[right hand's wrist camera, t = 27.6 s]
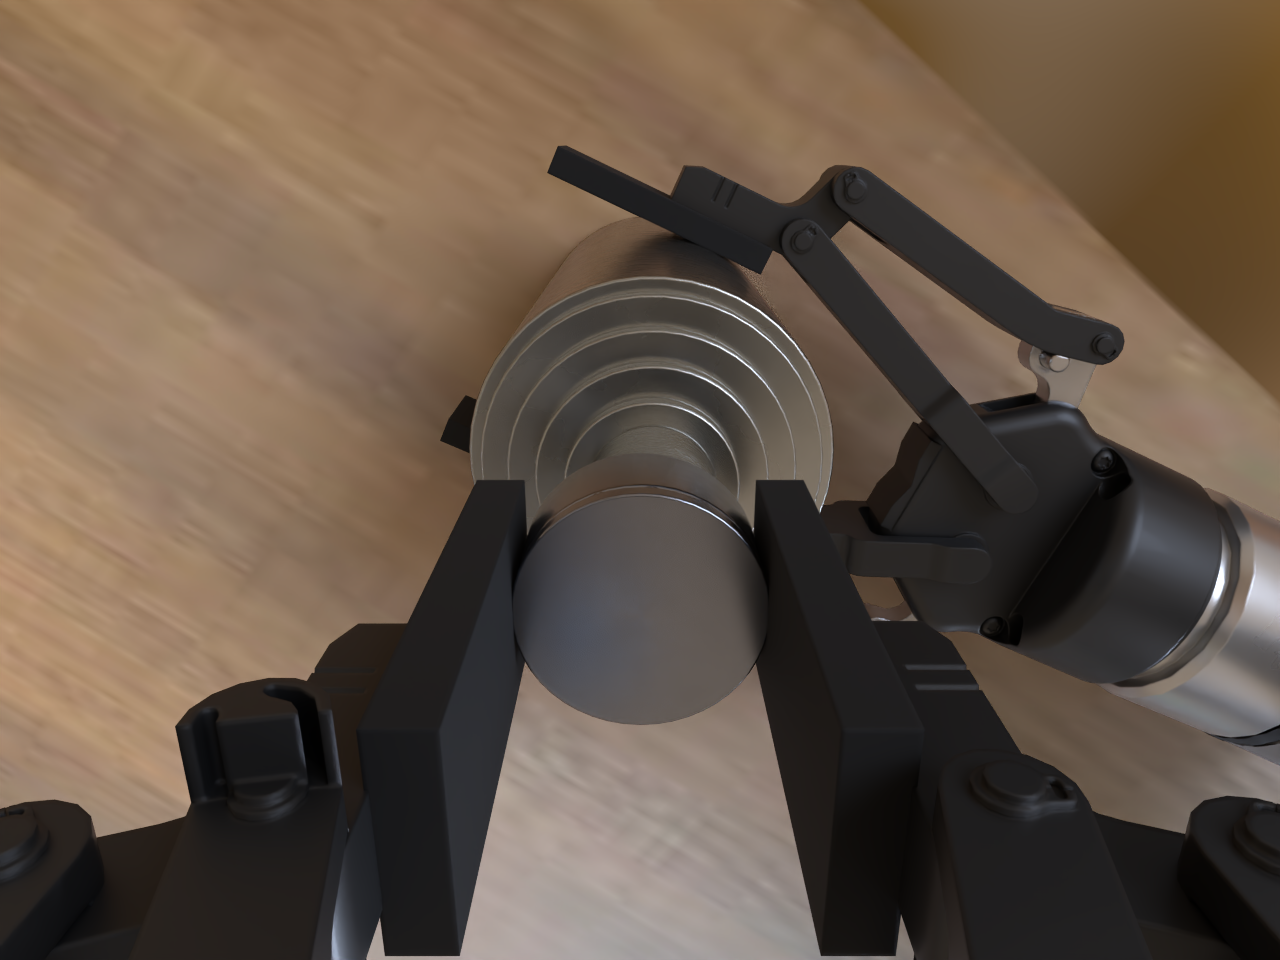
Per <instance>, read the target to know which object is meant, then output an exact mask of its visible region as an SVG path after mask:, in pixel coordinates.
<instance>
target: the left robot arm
mask: <svg viewBox="0 0 1280 960" xmlns="http://www.w3.org/2000/svg"><path fill="white" fill-rule="evenodd" d="M547 173H549V174H551V175H553V176H555V177H557V178H559V179H561V180H563V181H565V182H568V183H570V184H572V185H574V186H576V187H578V188H580V189H582V190H584V191H586V192H589V193H591V194H593V195H595V196H597V197H599V198H601V199H603V200H605V201H607V202H609V203H612V204H614V205H616V206H618V207H620V208H622V209H624V210H626V211H628V212H630V213H633V214H635V215H637V216H639V217H641V218H643V219H645V220H647V221H649V222H651V223H654V224H656V225H658V226H660V227H662V228H664V229H666V230H668V231H670V232H672V233H674V234H677V235H679V236H681V237H683V238H685V239H687V240H689V241H691V242H693V243H695V244H698V245H700V246H702V247H704V248H706V249H708V250H710V251H712V252H714V253H716V254H719V255H721V256H723V257H725V258H727V259H729V260H731V261H733V262H735V263H737V264H739V265H742V266H744V267H746V268H748V269H750V270H752V271H754V272H756V273H758V274H760V275H761V273H762V271H763V269H764V267H765V265H766V263H767V261H768V259H769V257H770V255H771V253H772V251H775V252H777V253H779V254H781V255H782V256H783V257H784V258H785V259H786V260H787V261H788V263H789V264H790V265H791V266H792V267H793V269H794V270H795V271H796V272H797V273H798V274H799V276H800V277H801V278H802V279H803V280H804V282H805V283H806V284H807V285H808V286H809V287H810V289H811V290H812V291H813V292H814V293H815V294H816V296H817V297H818V298H819V299H820V300H821V302H822V303H823V304H824V305H825V306H826V307H827V309H828V310H829V311H830V312H831V313H832V315H833V316H834V317H835V318H836V319H837V320H838V322H839V323H840V324H841V325H842V326H843V327H844V329H845V330H846V331H847V332H848V333H849V335H850V336H851V337H852V338H853V339H854V340H855V342H856V343H857V344H858V345H859V346H860V347H861V349H862V350H863V351H864V352H865V353H866V355H867V356H868V357H869V358H870V359H871V360H872V362H873V363H874V364H875V365H876V366H877V368H878V369H879V370H880V371H881V372H882V373H883V375H884V376H885V377H886V378H887V379H888V380H889V382H890V383H891V384H892V385H893V386H894V388H895V389H896V390H897V391H898V393H899V394H900V395H901V396H902V398H903V399H904V400H905V401H906V402H907V404H908V405H909V406H910V407H911V408H912V409H913V411H914V412H915V413H916V414H917V415H918V417H919V418H920V419H921V420H922V422H921V423H920V424H917V423H915V422H913V423H912V425H911V426H910V428H909V430H908V431H907V433H906V435H905V437H904V438H903V440H902V442H901V445H900V449H899V452H898V456H897V459H896V463H895V465H894V466H893V467H892V468H891V469H890V470H889V471H888V472H887V473H886V474H885V475H884V477H883V478H882V479H881V480H880V481H879V482H878V483H877V484H876V486H875V488H874V489H873V491H872V493H871V494H870V496H869V498H868V499H867V501H837V502H835V503H834V504H832V505H823V506H822V509H821V512H820V515H821V517H822V519H823V521H824V523H825V525H826V527H827V529H828V531H829V533H830V535H831V537H832V540H833V542H834V544H835V546H836V548H837V550H838V552H839V554H840V556H841V558H842V560H843V562H844V564H845V566H846V568H847V570H848V572H849V573H850V574H853V575H856V576H867V577H893V579H894V580H895V582H896V584H897V586H898V588H899V590H900V592H901V594H902V596H903V598H904V600H905V601H904V602H902V603H901V604H900V605H899V606H896V607H894V608H882V607H879V606H876V605H871V604H869V603H864V605H865V607H866V610H867V612H868V614H869V616H870V618H871V620H872V621H923V622H925V623H926V624H928V625H929V626H930V627H932V628H933V629H935V630H936V631H938V632H954V631H965V632H972V633H976V634H979V635H981V636H983V637H985V638H987V639H989V640H991V641H993V642H995V643H997V644H1000V645H1002V646H1004V647H1006V648H1008V649H1011V650H1013V651H1015V652H1018V653H1020V654H1022V655H1025V656H1027V657H1029V658H1032V659H1034V660H1036V661H1039V662H1041V663H1043V664H1046V665H1048V666H1050V667H1053V668H1055V669H1057V670H1060V671H1062V672H1064V673H1067V674H1069V675H1071V676H1074V677H1076V678H1078V679H1081V680H1083V681H1087V682H1090V683H1096V684H1097V685H1099V686H1100V687H1102V688H1103V689H1105V690H1106V691H1108V692H1109V693H1111V694H1114V695H1116V696H1119V697H1121V698H1123V699H1126V700H1128V701H1131V702H1133V703H1136V704H1138V705H1140V706H1143V707H1145V708H1148V709H1150V710H1153V711H1155V712H1158V713H1160V714H1162V715H1165V716H1167V717H1170V718H1172V719H1175V720H1177V721H1180V722H1182V723H1184V724H1187V725H1189V726H1192V727H1194V728H1197V729H1199V730H1201V731H1204V732H1205V733H1207V734H1209V735H1211V736H1213V737H1216V738H1218V739H1220V740H1222V741H1227V742H1229V743H1231V744H1233V745H1235V746H1238V747H1240V748H1242V749H1244V750H1246V751H1249V752H1251V753H1253V754H1255V755H1258V756H1260V757H1262V758H1264V759H1266V760H1269V761H1271V762H1273V763H1275V764H1277V765H1280V521H1278V520H1276V519H1274V518H1272V517H1270V516H1268V515H1266V514H1264V513H1262V512H1259V511H1257V510H1255V509H1253V508H1251V507H1249V506H1247V505H1245V504H1243V503H1241V502H1239V501H1237V500H1235V499H1233V498H1230V497H1228V496H1226V495H1224V494H1222V493H1219V492H1217V491H1214V490H1212V489H1209V488H1202V486H1201V485H1199V484H1198V483H1197V482H1195V481H1194V480H1193V479H1191V478H1189V477H1187V476H1184V475H1182V474H1180V473H1178V472H1176V471H1174V470H1172V469H1170V468H1168V467H1166V466H1164V465H1161V464H1159V463H1157V462H1155V461H1153V460H1151V459H1149V458H1147V457H1145V456H1143V455H1141V454H1138V453H1136V452H1134V451H1132V450H1130V449H1128V448H1126V447H1124V446H1122V445H1120V444H1118V443H1115V442H1113V441H1111V440H1109V439H1107V438H1105V437H1103V436H1101V435H1099V434H1097V433H1095V431H1094V430H1093V429H1092V428H1091V426H1090V425H1089V423H1088V421H1087V419H1086V417H1085V416H1084V415H1083V413H1082V412H1081V411H1080V410H1079V409H1078V406H1079V404H1080V402H1081V399H1082V397H1083V395H1084V392H1085V390H1086V388H1087V385H1088V383H1089V381H1090V378H1091V376H1092V374H1093V371H1094V369H1095V366H1096V364H1098V365H1104V364H1107V363H1109V362H1112V361H1113V360H1114V359H1115V358H1117V357H1118V356H1119V354H1120V353H1121V351H1122V350H1123V346H1124V336H1123V333H1122V332H1121V330H1120V329H1119V328H1118V327H1116V326H1114V325H1112V324H1109V323H1107V322H1104V321H1102V320H1099V319H1096V318H1094V317H1091V316H1089V315H1086V314H1084V313H1081V312H1079V311H1076V310H1073V309H1069V308H1065V307H1061V306H1057V305H1053V304H1049V303H1046V302H1045V301H1043V300H1042V299H1041V298H1039V297H1038V296H1037V295H1035V294H1034V293H1033V292H1031V291H1030V290H1029V289H1027V288H1026V287H1025V286H1023V285H1022V284H1021V283H1019V282H1018V281H1017V280H1015V279H1014V278H1013V277H1011V276H1010V275H1009V274H1007V273H1006V272H1004V271H1003V270H1002V269H1000V268H999V267H998V266H996V265H995V264H994V263H992V262H991V261H990V260H988V259H987V258H986V257H984V256H983V255H982V254H980V253H979V252H978V251H976V250H975V249H974V248H972V247H971V246H969V245H968V244H967V243H965V242H964V241H963V240H961V239H960V238H959V237H957V236H956V235H955V234H953V233H952V232H951V231H949V230H948V229H947V228H945V227H944V226H943V225H941V224H940V223H939V222H937V221H936V220H935V219H933V218H932V217H930V216H929V215H928V214H926V213H925V212H924V211H922V210H921V209H920V208H918V207H917V206H916V205H914V204H913V203H912V202H910V201H909V200H908V199H906V198H905V197H904V196H902V195H901V194H900V193H898V192H897V191H895V190H894V189H893V188H891V187H890V186H889V185H887V184H886V183H885V182H883V181H882V180H881V179H879V178H878V177H877V176H875V175H874V174H873V173H871V172H870V171H868V170H866V169H864V168H862V167H855V166H846V165H835V166H832V167H830V168H828V169H827V170H826V171H825V172H824V173H823V174H822V175H821V177H820V180H819V181H818V182H817V183H816V184H815V185H814V186H813V187H812V188H811V189H810V190H809V191H808V192H807V193H806V194H805V195H804V196H802V197H801V198H800V199H799V200H796V201H794V202H792V203H787V204H784V203H777V202H774V201H772V200H770V199H768V198H766V197H764V196H762V195H760V194H758V193H756V192H754V191H752V190H750V189H748V188H746V187H744V186H742V185H739V184H737V183H735V182H733V181H731V180H729V179H727V178H725V177H723V176H721V175H719V174H717V173H715V172H713V171H711V170H709V169H707V168H705V167H703V166H685V165H684V166H683V168H682V171H681V173H680V175H679V177H678V180H677V182H676V184H675V186H674V188H673V191H672V193H671V195H667V194H665V193H663V192H661V191H659V190H657V189H655V188H653V187H651V186H649V185H647V184H645V183H643V182H641V181H638V180H636V179H634V178H632V177H630V176H628V175H626V174H624V173H622V172H620V171H618V170H616V169H614V168H612V167H609V166H607V165H605V164H603V163H601V162H599V161H597V160H595V159H593V158H591V157H589V156H587V155H585V154H583V153H581V152H578V151H576V150H574V149H572V148H570V147H568V146H558V147H557V150H556V152H555V155H554V157H553V160H552V162H551V165H550V167H549V170H548V172H547ZM848 221H850V222H852V223H853V224H854V225H856V226H857V227H859V228H860V229H861V230H863V231H864V232H865V233H867V234H868V235H870V236H871V237H872V238H874V239H875V240H876V241H878V242H879V243H881V244H882V245H883V246H885V247H886V248H887V249H889V250H890V251H892V252H893V253H894V254H896V255H897V256H898V257H900V258H901V259H903V260H904V261H905V262H907V263H908V264H910V265H911V266H912V267H914V268H915V269H916V270H918V271H919V272H921V273H922V274H923V275H925V276H926V277H927V278H929V279H930V280H932V281H933V282H934V283H936V284H937V285H938V286H940V287H941V288H943V289H944V290H945V291H947V292H948V293H949V294H951V295H952V296H954V297H955V298H956V299H958V300H959V301H960V302H962V303H963V304H965V305H966V306H967V307H969V308H970V309H971V310H973V311H974V312H976V313H977V314H978V315H980V316H981V317H982V318H984V319H985V320H987V321H988V322H990V323H991V324H993V325H994V326H996V327H998V328H999V329H1001V330H1003V331H1005V332H1007V333H1009V334H1011V335H1013V336H1014V337H1016V338H1018V339H1020V340H1021V342H1020V344H1019V348H1018V359H1019V361H1020V363H1021V364H1022V365H1023V366H1024V367H1026V368H1027V369H1029V370H1031V371H1032V372H1033V373H1034V374H1035V375H1036V377H1037V380H1038V388H1037V392H1036V393H1030V394H1024V395H1019V396H1014V397H1008V398H1003V399H998V400H992V401H987V402H981V403H976V404H971V405H969V404H968V403H967V402H966V400H965V399H964V398H963V397H962V396H961V395H960V394H959V393H958V392H957V391H956V390H955V388H954V387H953V386H952V385H951V384H950V383H949V382H948V381H947V379H946V378H945V377H944V376H943V375H942V373H941V372H940V371H939V370H938V369H937V367H936V366H935V365H934V364H933V363H932V361H931V360H930V359H929V358H928V356H927V355H926V354H925V353H924V352H923V350H922V349H921V348H920V347H919V346H918V344H917V343H916V342H915V341H914V340H913V338H912V337H911V336H910V335H909V333H908V332H907V331H906V330H905V329H904V327H903V326H902V325H901V324H900V323H899V321H898V320H897V319H896V318H895V317H894V315H893V314H892V313H891V312H890V310H889V309H888V308H887V307H886V306H885V304H884V303H883V302H882V301H881V300H880V298H879V297H878V296H877V295H876V294H875V292H874V291H873V290H872V289H871V287H870V286H869V285H868V284H867V283H866V281H865V280H864V279H863V278H862V277H861V275H860V274H859V273H858V272H857V271H856V269H855V268H854V267H853V266H852V264H851V263H850V262H849V261H848V260H847V258H846V257H845V256H844V255H843V254H842V252H841V251H840V250H839V249H838V248H837V246H836V245H835V244H834V243H833V241H832V240H831V238H832V237H833V236H834V235H835V234H836V233H837V232H838V231H839V230H840V229H841V228H842V227H843V226H844V225H845V224H846V223H847V222H848ZM476 401H477V400H476V399H473V398H471V397H469V396H467V395H466V396H465V397H464V398H463V400H462V401H461V403H460V404H459V405H458V407H457V408H456V410H455V411H454V412H453V414H452V415H451V417H450V418H449V420H448V422H447V425H446V427H445V430H444V432H443V435H442V437H441V440H440V441H442V442H445V443H447V444H449V445H452V446H454V447H456V448H459V449H461V450H463V451H466V452H468V453H470V434H471V423H472V419H473V414H474V409H475V405H476Z"/></svg>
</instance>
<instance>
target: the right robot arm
mask: <svg viewBox="0 0 1280 960" xmlns="http://www.w3.org/2000/svg"><path fill="white" fill-rule="evenodd" d="M753 534H754V537H755V541H756V544H757V547H758V551H759V554H760V558H761V561H762V565H763V568H764V571H765V575H766V578H767V582H768V585H769V605H768V623H767V638H766V642H765V645H764V647H763V650H762V652H761V654H760V656H759V658H758V660H757V662H756V666H757V670H758V675H759V679H760V684H761V688H762V693H763V697H764V702H765V706H766V711H767V715H768V720H769V724H770V729H771V733H772V738H773V742H774V747H775V751H776V756H777V760H778V765H779V769H780V774H781V778H782V783H783V787H784V792H785V796H786V801H787V805H788V810H789V814H790V819H791V823H792V828H793V832H794V837H795V841H796V846H797V850H798V855H799V859H800V864H801V868H802V873H803V877H804V882H805V886H806V891H807V895H808V900H809V904H810V909H811V913H812V918H813V922H814V927H815V931H816V936H817V940H818V945H819V949H820V954H821V956H896V949H897V941H898V933H899V926H900V918H901V915H902V918H903V921H904V924H905V927H906V930H907V933H908V936H909V939H910V942H911V945H912V948H913V951H914V960H1280V804H1275V803H1273V802H1269V801H1264V800H1261V799H1257V798H1246V797H1235V796H1224V797H1219V798H1214V799H1209V800H1204V801H1203V802H1202V803H1201V804H1200V805H1198V806H1197V807H1196V808H1195V809H1194V810H1193V811H1192V812H1191V814H1190V818H1189V821H1188V825H1187V829H1186V833H1185V834H1182V833H1178V832H1173V831H1169V830H1164V829H1159V828H1155V827H1150V826H1145V825H1141V824H1136V823H1131V822H1127V821H1122V820H1119V819H1115V818H1112V817H1108V816H1105V815H1101V814H1098V813H1096V812H1093V811H1092V808H1091V806H1090V803H1089V801H1088V800H1087V799H1086V797H1085V796H1084V794H1083V793H1082V791H1081V790H1080V789H1079V787H1078V786H1077V784H1076V783H1075V782H1073V781H1072V780H1071V779H1069V778H1068V777H1067V776H1065V775H1064V774H1063V773H1062V772H1060V771H1059V770H1058V769H1056V768H1055V767H1053V766H1051V765H1049V764H1046V763H1044V762H1042V761H1040V760H1037V759H1035V758H1033V757H1031V756H1028V755H1025V754H1021V752H1020V750H1019V749H1018V747H1017V746H1016V744H1015V742H1014V741H1013V739H1012V738H1011V736H1010V734H1009V733H1008V731H1007V730H1006V728H1005V726H1004V725H1003V723H1002V722H1001V720H1000V718H999V717H998V715H997V714H996V712H995V710H994V709H993V707H992V706H991V704H990V702H989V701H988V699H987V698H986V696H985V694H984V693H983V691H982V690H979V685H978V683H977V682H976V680H975V678H974V677H973V675H972V674H971V672H970V670H967V669H966V664H965V662H964V661H963V659H962V658H961V656H960V654H959V653H958V651H957V650H956V648H955V646H954V645H953V643H952V642H951V641H950V640H949V639H947V638H946V637H944V636H943V635H942V634H940V633H939V632H937V631H936V630H935V629H933V628H932V627H930V626H929V625H928V624H926V623H925V622H923V621H872V620H871V618H870V616H869V614H868V612H867V610H866V607H865V605H864V603H863V601H862V599H861V597H860V595H859V593H858V591H857V589H856V587H855V585H854V583H853V581H852V579H851V577H850V575H849V572H848V570H847V568H846V566H845V564H844V562H843V560H842V558H841V556H840V554H839V552H838V550H837V548H836V546H835V544H834V542H833V540H832V537H831V535H830V533H829V531H828V529H827V527H826V525H825V523H824V521H823V519H822V517H821V515H820V513H819V511H818V509H817V507H816V504H815V502H814V500H813V498H812V496H811V494H810V492H809V490H808V488H807V486H806V484H805V482H804V480H756V488H755V509H754V531H753ZM526 539H527V518H526V497H525V480H477V481H476V483H475V485H474V487H473V489H472V491H471V493H470V495H469V497H468V500H467V502H466V504H465V506H464V508H463V510H462V512H461V514H460V516H459V518H458V520H457V522H456V524H455V526H454V528H453V530H452V533H451V535H450V537H449V539H448V541H447V543H446V545H445V547H444V549H443V551H442V553H441V555H440V557H439V559H438V561H437V563H436V565H435V568H434V570H433V572H432V574H431V576H430V578H429V580H428V582H427V584H426V586H425V588H424V590H423V592H422V594H421V596H420V598H419V601H418V603H417V605H416V607H415V609H414V611H413V613H412V615H411V617H410V619H409V621H408V623H407V624H357V625H356V626H355V627H353V628H352V629H350V630H349V631H348V632H346V633H345V634H343V635H342V636H341V637H339V638H338V639H336V640H335V641H334V642H332V643H331V644H330V645H329V646H328V648H327V649H326V651H325V653H324V654H323V656H322V657H321V659H320V661H319V662H318V664H317V666H316V667H315V673H312V674H311V675H310V677H309V678H308V680H307V681H304V680H300V679H297V678H266V679H261V680H256V681H251V682H246V683H240V684H237V685H235V686H232V687H230V688H227V689H225V690H222V691H219V692H217V693H214V694H212V695H210V696H209V697H207V698H206V699H204V700H203V701H201V702H200V703H198V704H197V705H195V706H193V707H192V708H190V709H189V710H188V711H187V713H186V714H185V715H184V716H183V717H182V719H181V720H180V721H179V722H178V724H177V725H176V726H175V728H176V733H177V737H178V742H179V747H180V752H181V756H182V761H183V766H184V771H185V775H186V780H187V785H188V790H189V794H190V799H191V805H190V807H189V810H188V812H187V815H186V816H185V817H182V818H179V819H175V820H172V821H168V822H165V823H161V824H158V825H153V826H148V827H144V828H139V829H134V830H130V831H125V832H121V833H116V834H111V835H107V836H102V837H98V838H96V834H95V830H94V826H93V822H92V819H91V816H90V815H89V814H88V813H87V812H86V811H85V810H83V809H82V808H81V807H80V806H79V805H78V804H73V803H69V802H64V801H59V800H45V801H34V802H24V803H21V804H17V805H13V806H9V807H7V808H2V809H0V960H366V957H367V954H368V951H369V948H370V945H371V942H372V939H373V936H374V933H375V930H376V927H377V924H378V921H379V918H380V921H381V929H382V936H383V944H384V952H385V956H460V952H461V948H462V943H463V939H464V934H465V930H466V925H467V921H468V916H469V912H470V907H471V903H472V898H473V894H474V889H475V885H476V880H477V876H478V871H479V866H480V862H481V857H482V853H483V848H484V844H485V839H486V835H487V830H488V826H489V821H490V817H491V812H492V808H493V803H494V799H495V794H496V790H497V785H498V781H499V776H500V772H501V767H502V763H503V758H504V754H505V749H506V745H507V740H508V736H509V731H510V727H511V722H512V718H513V713H514V709H515V704H516V700H517V695H518V691H519V686H520V682H521V677H522V673H523V668H524V664H525V660H524V659H523V657H522V655H521V653H520V650H519V648H518V646H517V643H516V640H515V636H514V630H513V612H512V590H513V584H514V580H515V577H516V574H517V570H518V567H519V563H520V560H521V556H522V553H523V549H524V546H525V542H526Z"/></svg>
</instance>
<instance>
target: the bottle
mask: <svg viewBox="0 0 1280 960" xmlns="http://www.w3.org/2000/svg"><path fill="white" fill-rule="evenodd" d="M634 453H650V454H659V455H664V456H669V457H674V458H677V459H680V460H683V461H686V462H689V463H691V464H693V465H695V466H697V467H699V468H701V469H703V470H704V471H706V472H707V473H709V474H711V475H712V476H714V477H715V478H716V479H717V480H719V481H720V482H721V483H722V484H723V485H724V486H726V487H727V489H728V490H729V491H730V492H731V493H732V494H733V495H734V496H735V498H736V499H737V500H738V502H739V503H740V505H741V506H742V508H743V509H744V511H745V513H746V516H747V518H748V520H749V522H750V524H751V528H752V531H754V509H755V488H756V480H804V482H805V484H806V486H807V488H808V490H809V492H810V494H811V496H812V498H813V500H814V502H815V504H816V507H817V509H818V511H819V513H820V512H821V509H822V506H823V504H824V501H825V498H826V495H827V492H828V488H829V483H830V479H831V474H832V465H833V453H834V444H833V427H832V422H831V417H830V412H829V407H828V403H827V400H826V397H825V394H824V391H823V389H822V386H821V383H820V381H819V379H818V377H817V375H816V373H815V371H814V369H813V367H812V365H811V363H810V361H809V360H808V359H807V357H806V356H805V354H804V353H803V352H802V350H801V349H800V347H799V346H798V344H797V343H796V342H795V340H794V339H793V338H792V336H791V335H790V334H789V332H788V331H787V330H786V328H785V327H784V326H783V324H782V323H781V321H780V320H779V319H778V317H777V316H776V315H775V313H774V312H773V311H772V309H771V308H770V307H769V305H768V304H767V303H766V301H765V300H764V299H763V297H762V296H761V295H760V293H759V292H758V291H757V289H756V288H755V287H754V285H753V284H752V282H751V281H750V280H749V278H748V277H747V276H746V274H745V273H744V272H743V270H742V269H741V268H740V266H739V265H738V264H737V263H735V262H733V261H731V260H729V259H727V258H725V257H723V256H721V255H719V254H716V253H714V252H712V251H710V250H708V249H706V248H704V247H702V246H700V245H698V244H695V243H693V242H691V241H689V240H687V239H685V238H683V237H681V236H679V235H677V234H674V233H672V232H670V231H668V230H666V229H664V228H662V227H660V226H658V225H656V224H654V223H651V222H649V221H647V220H645V219H643V218H641V217H635V218H628V219H625V220H621V221H618V222H614V223H612V224H610V225H607V226H605V227H603V228H601V229H599V230H598V231H596V232H594V233H593V234H591V235H590V236H588V237H587V238H586V239H585V240H583V241H582V242H581V243H580V244H579V245H578V246H577V247H576V248H575V249H574V250H573V251H572V252H571V253H570V254H569V255H568V257H567V258H566V259H565V261H564V262H563V264H562V265H561V266H560V268H559V269H558V271H557V272H556V274H555V275H554V276H553V278H552V279H551V281H550V282H549V284H548V285H547V286H546V288H545V289H544V291H543V292H542V294H541V295H540V296H539V298H538V299H537V301H536V302H535V304H534V305H533V306H532V308H531V309H530V311H529V312H528V314H527V315H526V316H525V318H524V319H523V321H522V322H521V324H520V325H519V326H518V328H517V329H516V331H515V332H514V334H513V335H512V336H511V338H510V339H509V341H508V342H507V344H506V345H505V346H504V348H503V349H502V351H501V352H500V354H499V355H498V356H497V358H496V359H495V361H494V363H493V365H492V367H491V368H490V370H489V372H488V374H487V376H486V378H485V380H484V382H483V385H482V387H481V390H480V393H479V396H478V398H477V401H476V405H475V409H474V414H473V419H472V423H471V434H470V463H471V473H472V477H473V482H474V485H475V483H476V481H477V480H525V497H526V518H527V535H528V532H529V529H530V526H531V523H532V521H533V519H534V517H535V515H536V513H537V511H538V509H539V507H540V506H541V504H542V503H543V501H544V500H545V498H546V497H547V496H548V495H549V494H550V493H551V491H552V490H553V489H554V488H555V487H556V486H557V485H558V484H559V483H561V482H562V481H563V480H564V479H565V478H567V477H568V476H569V475H571V474H572V473H574V472H576V471H577V470H579V469H580V468H582V467H584V466H587V465H589V464H591V463H593V462H595V461H598V460H602V459H604V458H608V457H612V456H617V455H623V454H634Z"/></svg>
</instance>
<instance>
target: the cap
mask: <svg viewBox="0 0 1280 960" xmlns="http://www.w3.org/2000/svg"><path fill="white" fill-rule="evenodd" d="M768 605H769V585H768V582H767V578H766V575H765V571H764V568H763V565H762V561H761V558H760V554H759V551H758V547H757V544H756V541H755V537H754V534H753V531H752V528H751V524H750V522H749V520H748V518H747V516H746V513H745V511H744V509H743V508H742V506H741V505H740V503H739V502H738V500H737V499H736V498H735V496H734V495H733V494H732V493H731V492H730V491H729V490H728V489H727V487H726V486H724V485H723V484H722V483H721V482H720V481H719V480H717V479H716V478H715V477H714V476H712V475H711V474H709V473H707V472H706V471H704V470H703V469H701V468H699V467H697V466H695V465H693V464H691V463H689V462H686V461H683V460H680V459H677V458H674V457H669V456H664V455H659V454H650V453H634V454H623V455H617V456H612V457H608V458H604V459H602V460H598V461H595V462H593V463H591V464H589V465H587V466H584V467H582V468H580V469H579V470H577V471H576V472H574V473H572V474H571V475H569V476H568V477H567V478H565V479H564V480H563V481H562V482H561V483H559V484H558V485H557V486H556V487H555V488H554V489H553V490H552V491H551V493H550V494H549V495H548V496H547V497H546V498H545V500H544V501H543V503H542V504H541V506H540V507H539V509H538V511H537V513H536V515H535V517H534V519H533V521H532V523H531V526H530V529H529V532H528V535H527V539H526V542H525V546H524V549H523V553H522V556H521V560H520V563H519V567H518V570H517V574H516V577H515V580H514V584H513V590H512V612H513V630H514V636H515V640H516V643H517V646H518V648H519V650H520V653H521V655H522V657H523V659H524V660H525V662H526V664H527V665H528V667H529V669H530V670H531V672H532V673H533V674H534V675H535V677H536V678H537V679H538V680H539V682H540V683H541V684H542V685H543V686H544V687H546V688H547V689H548V690H549V691H550V692H551V693H552V694H553V695H555V696H556V697H557V698H559V699H560V700H561V701H563V702H564V703H566V704H568V705H569V706H571V707H573V708H575V709H576V710H578V711H581V712H583V713H585V714H588V715H590V716H592V717H596V718H599V719H603V720H606V721H611V722H616V723H622V724H635V725H646V724H659V723H665V722H672V721H675V720H679V719H682V718H686V717H689V716H691V715H694V714H696V713H699V712H701V711H703V710H705V709H707V708H709V707H711V706H712V705H714V704H716V703H717V702H719V701H720V700H722V699H723V698H724V697H726V696H727V695H729V694H730V693H731V692H732V691H733V690H734V689H735V688H736V687H737V686H738V685H739V684H740V683H741V682H742V681H743V680H744V679H745V677H746V676H747V675H748V674H749V673H750V671H751V670H752V668H753V666H754V665H755V663H756V662H757V660H758V658H759V656H760V654H761V652H762V650H763V647H764V645H765V642H766V638H767V623H768Z"/></svg>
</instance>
